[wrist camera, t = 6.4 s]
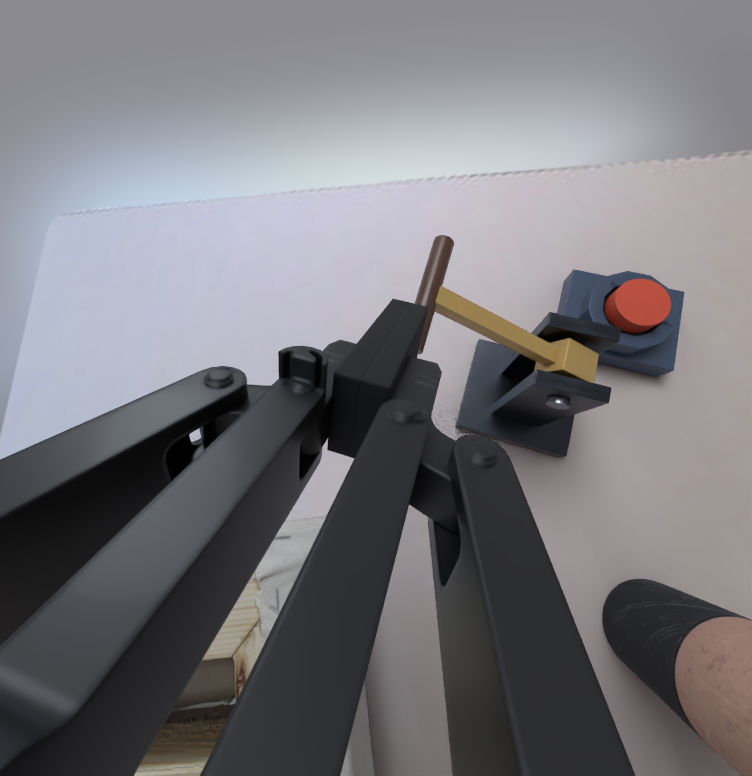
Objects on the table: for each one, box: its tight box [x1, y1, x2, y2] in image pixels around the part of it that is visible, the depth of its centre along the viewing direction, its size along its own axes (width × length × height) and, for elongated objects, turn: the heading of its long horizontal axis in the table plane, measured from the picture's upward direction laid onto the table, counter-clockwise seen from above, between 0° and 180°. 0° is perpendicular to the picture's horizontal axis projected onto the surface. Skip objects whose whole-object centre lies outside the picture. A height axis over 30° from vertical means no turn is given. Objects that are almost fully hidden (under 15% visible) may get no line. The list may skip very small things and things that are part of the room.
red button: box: [605, 279, 671, 333], centre depth 30 cm, size 4×4×2 cm
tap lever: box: [415, 235, 599, 383], centre depth 22 cm, size 13×7×2 cm, turn 73°
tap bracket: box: [456, 312, 621, 457], centre depth 28 cm, size 10×9×13 cm
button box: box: [557, 270, 684, 377], centre depth 33 cm, size 10×8×4 cm
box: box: [134, 516, 374, 776], centre depth 28 cm, size 23×8×32 cm
